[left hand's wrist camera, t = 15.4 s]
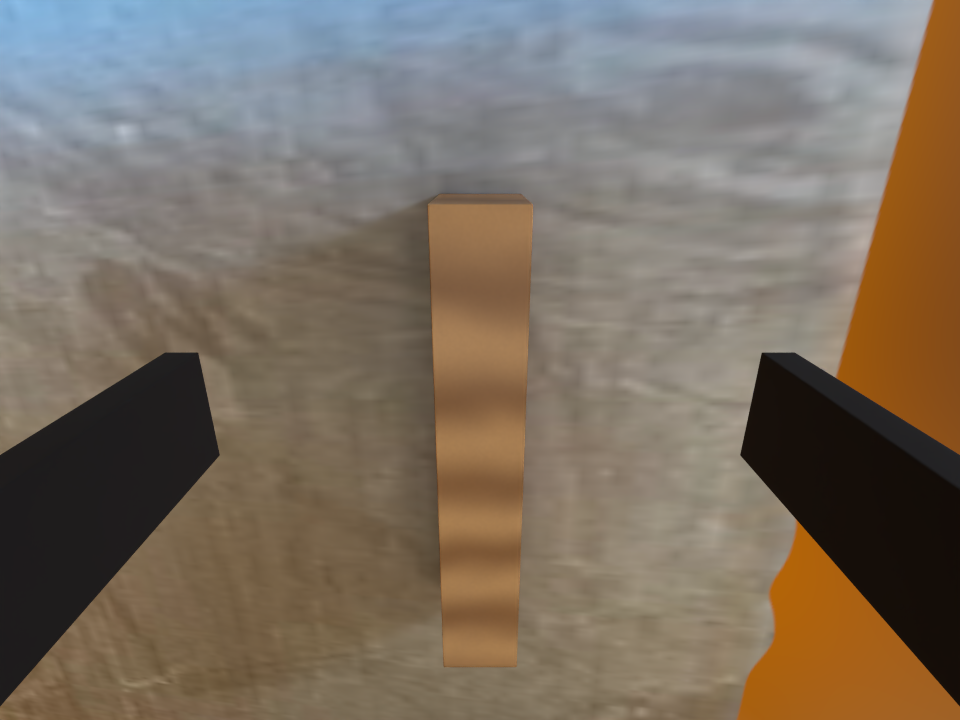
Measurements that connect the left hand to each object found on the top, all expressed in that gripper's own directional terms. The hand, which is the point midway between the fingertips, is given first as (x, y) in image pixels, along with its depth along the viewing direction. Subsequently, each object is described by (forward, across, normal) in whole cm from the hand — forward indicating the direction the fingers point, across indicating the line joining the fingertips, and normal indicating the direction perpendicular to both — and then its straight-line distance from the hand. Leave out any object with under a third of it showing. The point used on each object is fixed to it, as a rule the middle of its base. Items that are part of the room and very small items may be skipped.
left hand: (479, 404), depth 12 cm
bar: (+25, 0, -14) cm, 29 cm away
